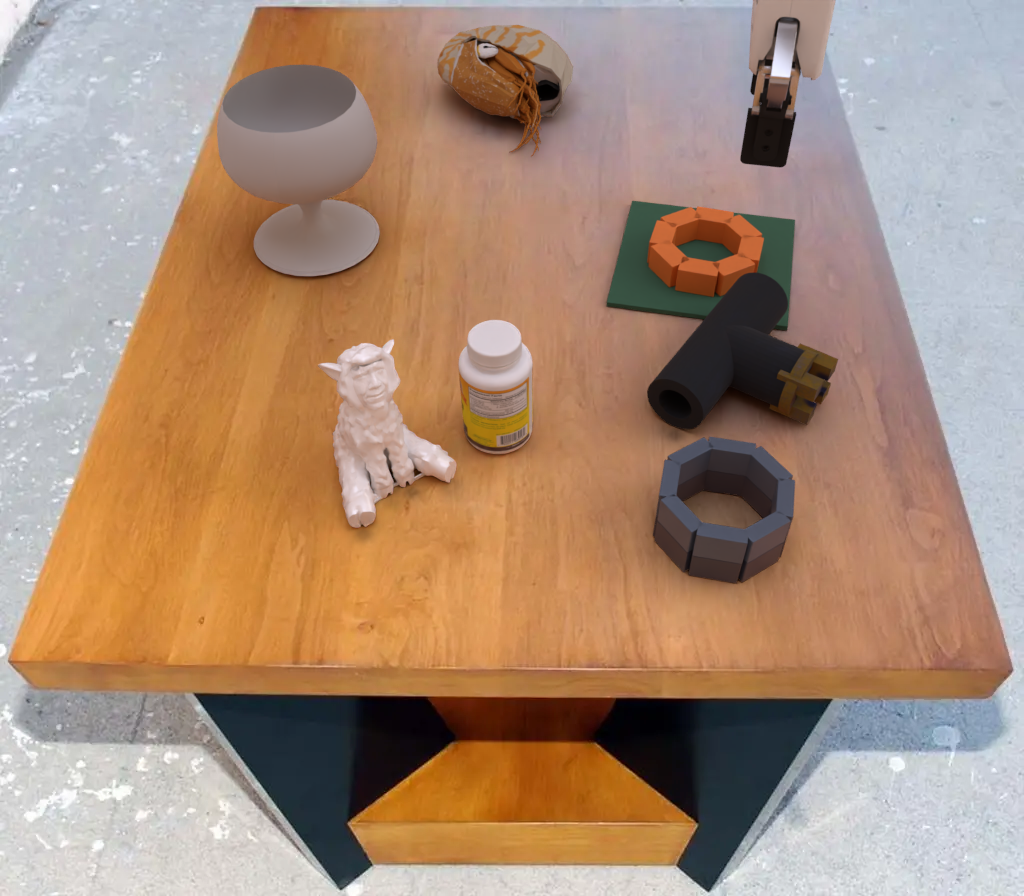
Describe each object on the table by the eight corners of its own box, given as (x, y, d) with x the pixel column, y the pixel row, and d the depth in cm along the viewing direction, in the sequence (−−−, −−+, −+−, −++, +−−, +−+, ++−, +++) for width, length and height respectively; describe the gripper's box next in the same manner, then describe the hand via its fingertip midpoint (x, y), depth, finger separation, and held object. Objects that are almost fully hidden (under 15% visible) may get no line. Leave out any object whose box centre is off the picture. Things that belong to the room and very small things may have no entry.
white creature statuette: (355, 537, 74) (330, 425, 65) (299, 465, 79) (269, 352, 70) (461, 478, 77) (452, 364, 69) (402, 413, 82) (386, 299, 73)
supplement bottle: (481, 399, 83) (476, 303, 75) (543, 418, 81) (544, 323, 74) (451, 445, 80) (443, 350, 72) (515, 466, 78) (513, 371, 70)
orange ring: (764, 238, 96) (768, 217, 94) (749, 303, 90) (754, 282, 88) (661, 221, 98) (663, 200, 96) (639, 284, 92) (641, 263, 90)
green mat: (794, 223, 98) (795, 219, 98) (786, 330, 88) (788, 326, 88) (631, 204, 101) (632, 200, 101) (606, 306, 91) (606, 302, 90)
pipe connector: (867, 313, 81) (786, 430, 73) (852, 359, 85) (774, 475, 77) (738, 262, 85) (649, 368, 78) (730, 309, 90) (644, 414, 82)
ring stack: (784, 491, 76) (796, 449, 73) (778, 591, 70) (791, 550, 67) (663, 472, 78) (669, 429, 74) (647, 568, 72) (653, 527, 68)
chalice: (369, 292, 92) (347, 147, 81) (224, 279, 94) (182, 134, 83) (403, 203, 102) (387, 62, 90) (271, 193, 103) (239, 53, 92)
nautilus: (587, 168, 106) (445, 182, 106) (566, 57, 119) (440, 69, 119) (587, 102, 100) (436, 116, 100) (564, -7, 113) (432, 5, 113)
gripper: (877, -67, 55) (815, 199, 68) (874, -169, 67) (822, 76, 79) (739, -75, 57) (703, 187, 69) (759, -174, 68) (725, 67, 81)
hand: (766, 127), depth 74 cm, fingers open, 9 cm apart
